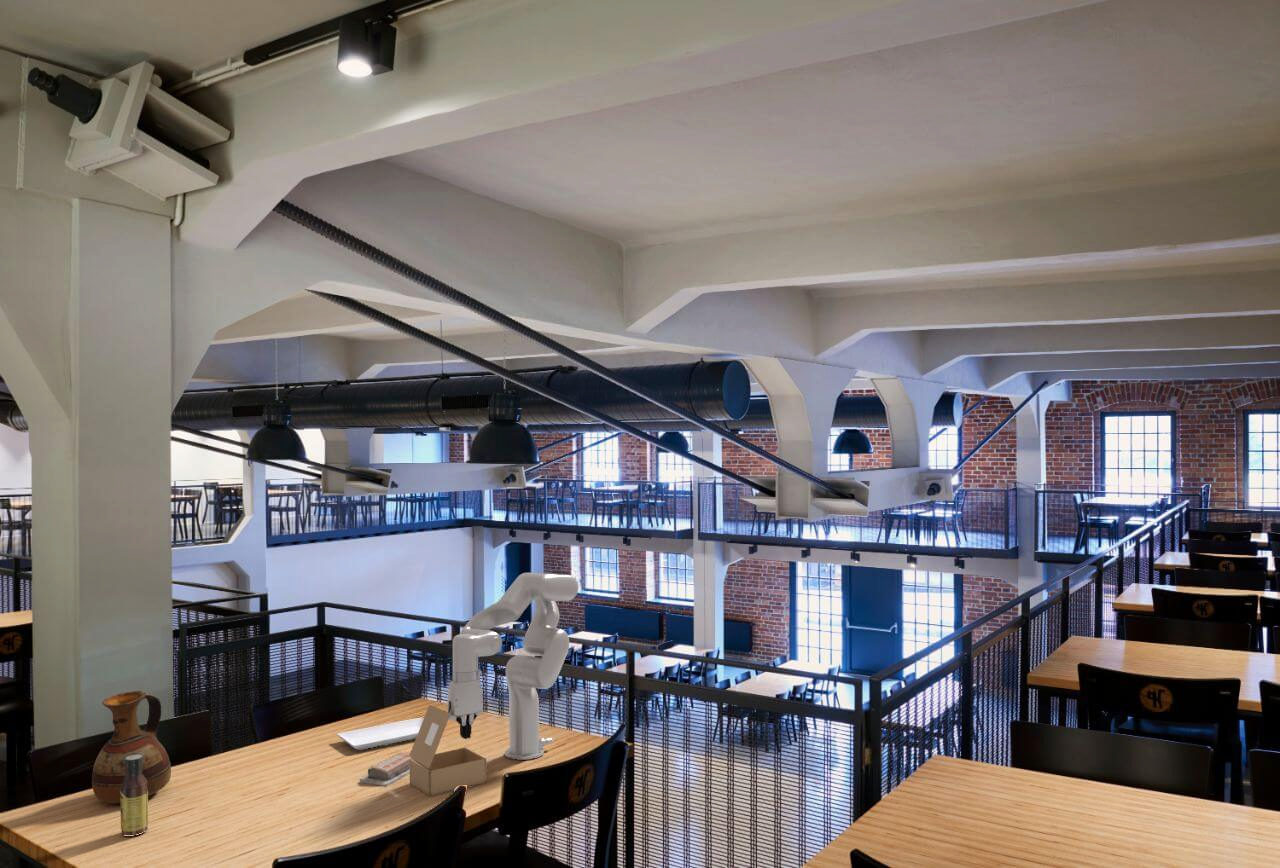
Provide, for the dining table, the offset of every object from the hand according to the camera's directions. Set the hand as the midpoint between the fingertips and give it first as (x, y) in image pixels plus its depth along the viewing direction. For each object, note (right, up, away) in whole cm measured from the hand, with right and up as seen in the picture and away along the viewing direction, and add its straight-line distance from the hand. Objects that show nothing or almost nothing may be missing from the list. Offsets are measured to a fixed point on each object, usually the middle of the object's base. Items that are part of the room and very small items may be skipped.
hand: (465, 737), depth 279 cm
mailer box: (-5, -12, -4) cm, 14 cm away
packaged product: (-23, -13, +4) cm, 27 cm away
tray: (-34, -14, +40) cm, 54 cm away
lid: (-8, +2, -6) cm, 10 cm away
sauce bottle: (-79, -13, -38) cm, 88 cm away
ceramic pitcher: (-94, -14, -11) cm, 96 cm away
